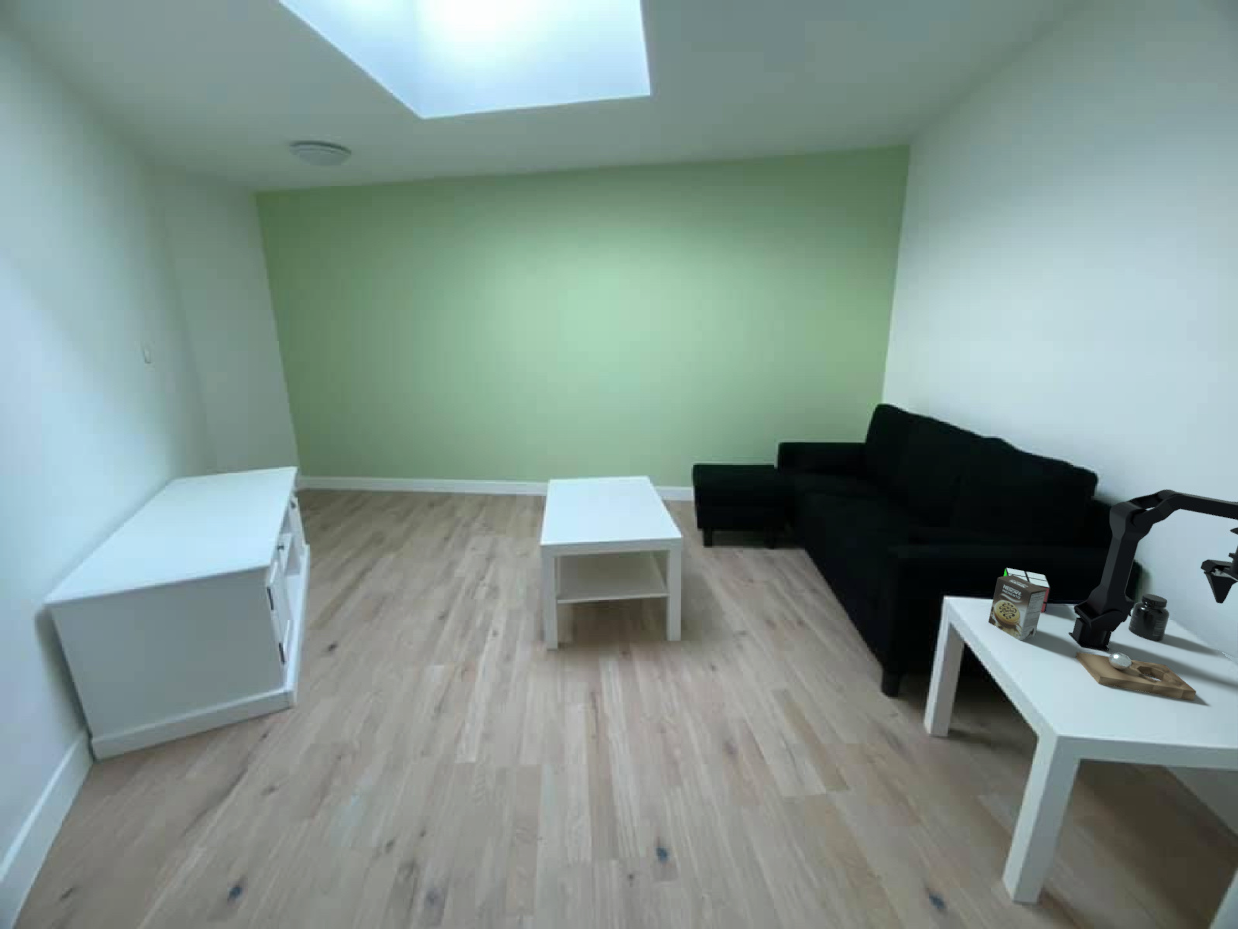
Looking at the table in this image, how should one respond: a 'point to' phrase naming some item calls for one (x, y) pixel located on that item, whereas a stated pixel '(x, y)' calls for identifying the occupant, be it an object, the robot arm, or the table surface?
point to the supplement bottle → (1149, 617)
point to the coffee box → (1016, 606)
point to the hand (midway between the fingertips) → (1233, 612)
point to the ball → (1120, 661)
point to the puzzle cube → (1034, 579)
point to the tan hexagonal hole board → (1137, 676)
